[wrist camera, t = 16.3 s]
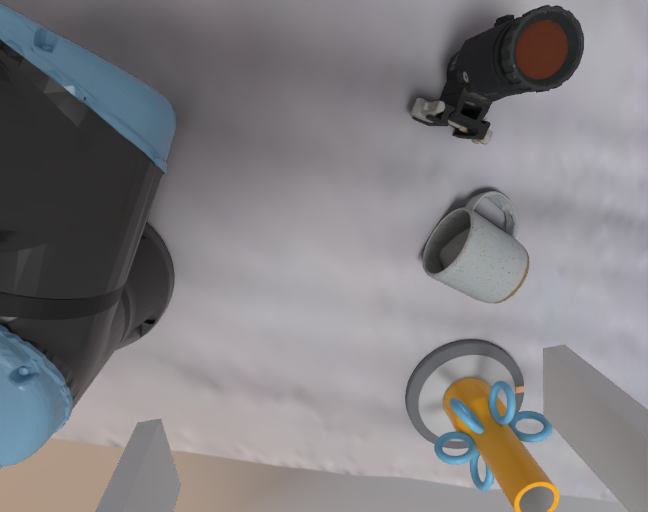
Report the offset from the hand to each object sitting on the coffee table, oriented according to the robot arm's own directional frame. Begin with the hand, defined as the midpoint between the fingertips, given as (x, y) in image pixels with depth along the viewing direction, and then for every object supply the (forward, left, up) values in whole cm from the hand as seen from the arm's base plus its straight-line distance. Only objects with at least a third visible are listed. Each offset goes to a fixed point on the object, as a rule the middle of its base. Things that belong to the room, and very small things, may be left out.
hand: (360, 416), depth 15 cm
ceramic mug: (+17, -5, -33) cm, 37 cm away
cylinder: (+15, -24, -31) cm, 42 cm away
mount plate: (+15, -24, -33) cm, 43 cm away
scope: (+17, +11, -33) cm, 39 cm away
